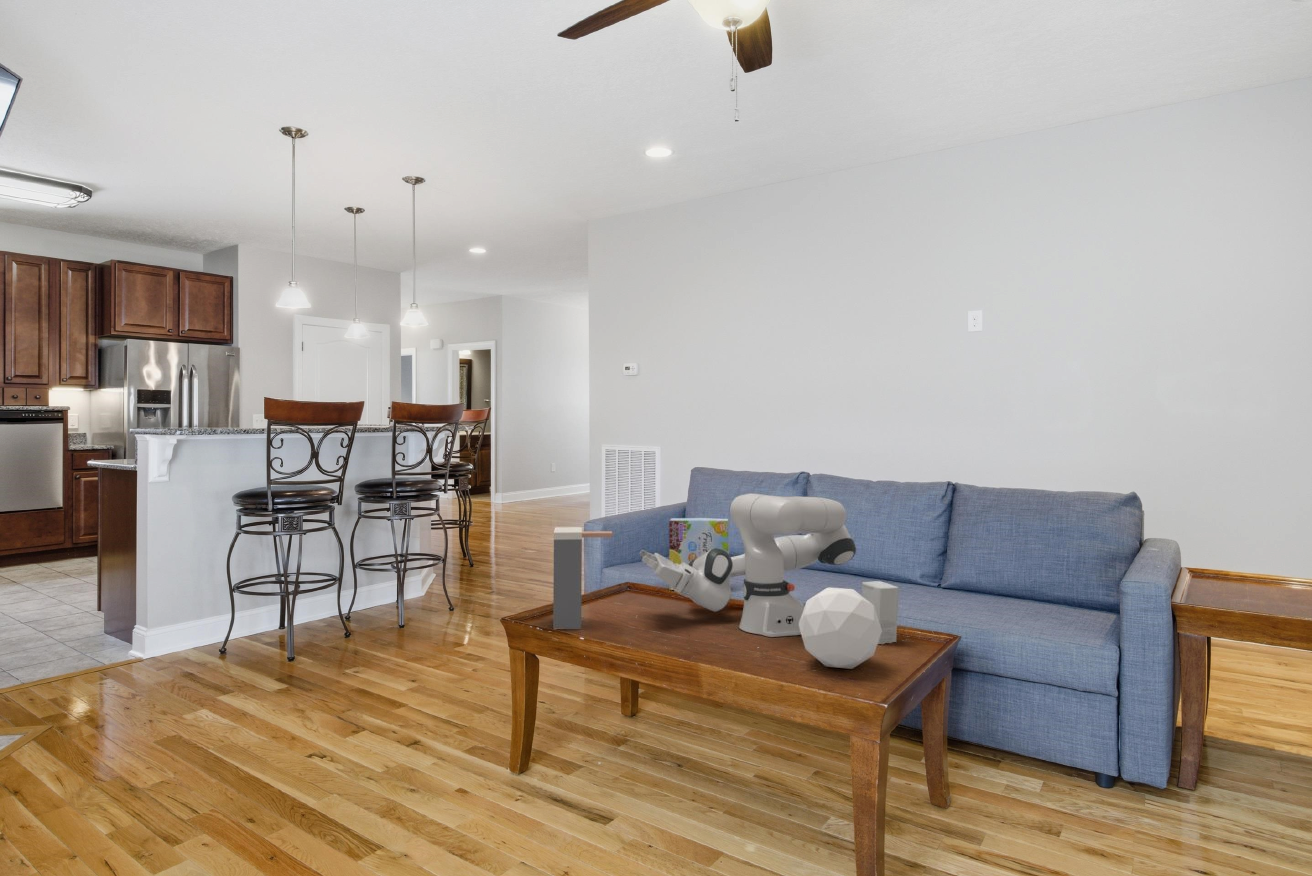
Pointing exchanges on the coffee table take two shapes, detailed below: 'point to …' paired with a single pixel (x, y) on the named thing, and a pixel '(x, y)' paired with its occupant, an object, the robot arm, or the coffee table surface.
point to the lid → (578, 533)
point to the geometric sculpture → (840, 628)
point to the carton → (567, 584)
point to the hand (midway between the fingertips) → (641, 555)
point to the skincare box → (883, 607)
